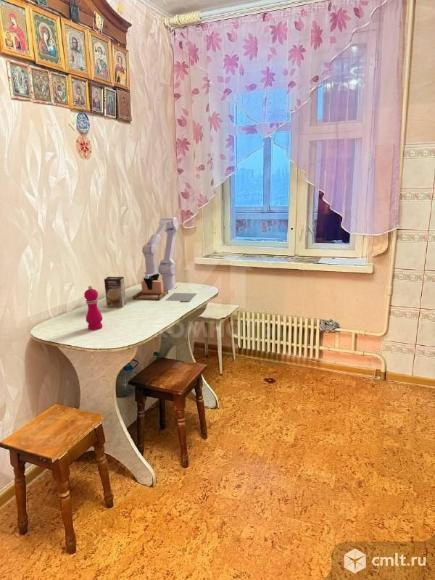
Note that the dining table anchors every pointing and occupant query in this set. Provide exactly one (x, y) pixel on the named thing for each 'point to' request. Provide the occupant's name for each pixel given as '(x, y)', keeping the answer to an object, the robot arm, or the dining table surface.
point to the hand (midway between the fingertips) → (152, 288)
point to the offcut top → (148, 296)
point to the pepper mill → (92, 309)
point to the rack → (160, 295)
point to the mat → (181, 297)
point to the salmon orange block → (153, 287)
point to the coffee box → (115, 292)
